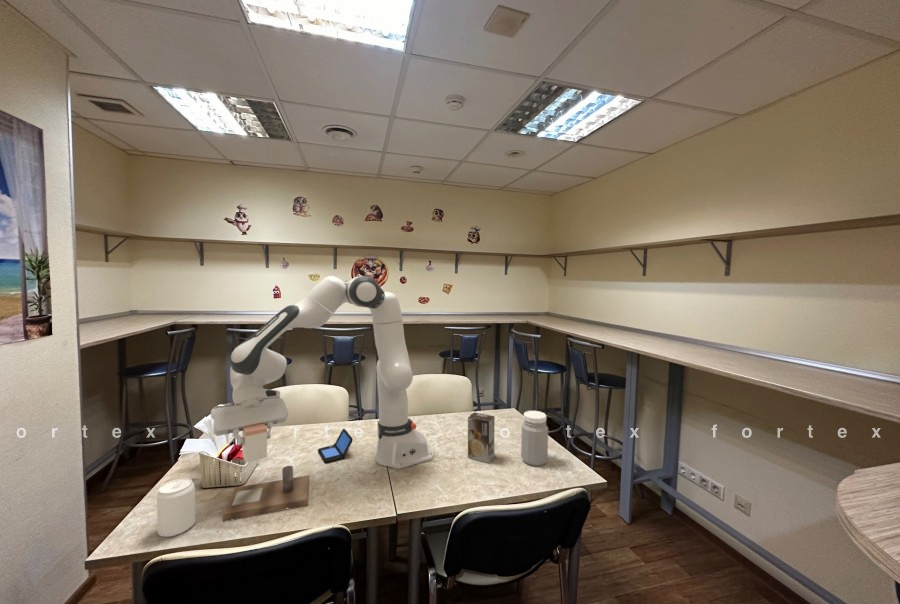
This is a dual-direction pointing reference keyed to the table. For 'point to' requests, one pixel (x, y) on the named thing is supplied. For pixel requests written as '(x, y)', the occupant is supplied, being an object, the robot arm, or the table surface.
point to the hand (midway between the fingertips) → (255, 440)
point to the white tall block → (255, 442)
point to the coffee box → (481, 437)
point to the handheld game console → (336, 448)
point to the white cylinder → (176, 507)
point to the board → (268, 496)
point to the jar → (534, 438)
